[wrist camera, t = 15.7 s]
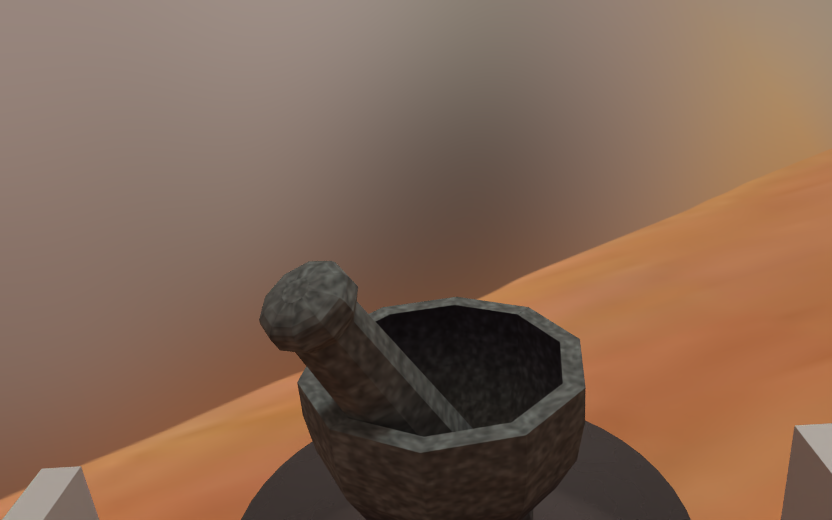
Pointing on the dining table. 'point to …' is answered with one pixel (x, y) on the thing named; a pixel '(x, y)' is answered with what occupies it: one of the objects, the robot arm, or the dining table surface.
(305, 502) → the disc
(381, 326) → the mortar and pestle
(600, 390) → the dining table surface
